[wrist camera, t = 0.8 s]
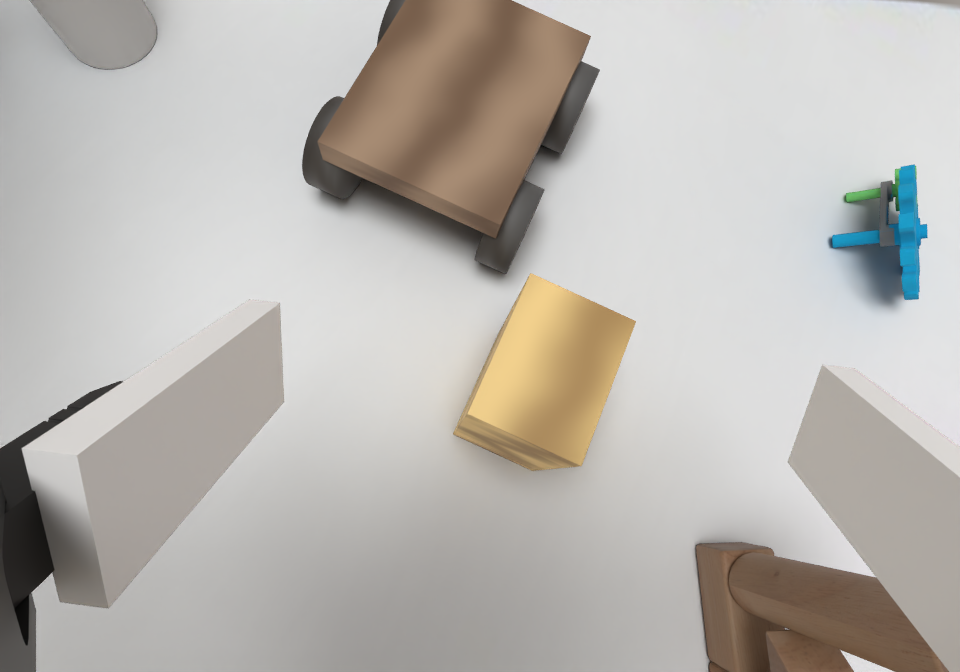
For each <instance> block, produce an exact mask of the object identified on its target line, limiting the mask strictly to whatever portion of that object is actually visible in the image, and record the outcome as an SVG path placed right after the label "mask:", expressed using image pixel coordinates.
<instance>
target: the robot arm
mask: <svg viewBox="0 0 960 672" xmlns="http://www.w3.org/2000/svg"><path fill="white" fill-rule="evenodd" d="M283 403H284V389H283V365H282V342H281V318H280V303H277V302H268V301H259V300H250V299H249V300H248V301H246V302H245V303H243V304H242V305H240V306H238V307H237V308H235V309H234V310H232V311H231V312H229V313H228V314H226V315H225V316H223V317H222V318H220V319H219V320H217V321H216V322H214V323H212V324H211V325H209V326H208V327H206V328H205V329H203V330H202V331H200V332H199V333H197V334H196V335H194V336H193V337H191V338H190V339H188V340H187V341H185V342H183V343H182V344H180V345H179V346H177V347H176V348H174V349H173V350H171V351H170V352H168V353H167V354H165V355H164V356H162V357H161V358H159V359H157V360H156V361H154V362H153V363H151V364H150V365H148V366H147V367H145V368H144V369H142V370H141V371H139V372H138V373H136V374H135V375H133V376H132V377H130V378H128V379H127V380H125V381H124V382H122V381H119V382H116V383H113V384H111V385H108V386H105V387H103V388H100V389H97V390H94V391H92V392H89V393H88V394H86V395H85V396H83V397H81V398H80V399H78V400H77V401H75V402H74V403H72V404H70V405H69V406H68V408H67V409H62V410H61V411H59V412H58V413H56V414H54V415H53V416H51V417H50V418H49V420H48V422H47V421H43V422H42V423H40V424H39V425H37V426H35V427H34V428H32V429H31V430H29V431H27V432H26V433H24V434H23V435H21V436H19V437H18V438H16V439H15V440H13V441H11V442H10V443H8V444H7V445H5V446H3V447H2V448H0V672H36V608H35V605H34V601H33V597H32V594H31V592H32V591H33V590H34V589H35V588H36V587H37V586H39V585H40V584H41V583H42V582H43V581H44V580H45V579H46V578H47V577H48V576H49V575H50V574H51V573H52V572H53V576H54V580H55V584H56V588H57V592H58V596H59V600H60V602H64V603H71V604H78V605H86V606H93V607H101V608H108V609H109V608H110V606H111V605H112V604H113V603H114V602H115V600H116V599H117V598H118V597H119V596H120V595H121V593H122V592H123V591H124V590H125V589H126V587H127V586H128V585H129V584H130V583H131V582H132V580H133V579H134V578H135V577H136V576H137V575H138V573H139V572H140V571H141V570H142V569H143V567H144V566H145V565H146V564H147V563H148V562H149V560H150V559H151V558H152V557H153V556H154V555H155V553H156V552H157V551H158V550H159V549H160V547H161V546H162V545H163V544H164V543H165V542H166V540H167V539H168V538H169V537H170V536H171V534H172V533H173V532H174V531H175V530H176V529H177V527H178V526H179V525H180V524H181V523H182V522H183V520H184V519H185V518H186V517H187V516H188V514H189V513H190V512H191V511H192V510H193V509H194V507H195V506H196V505H197V504H198V503H199V501H200V500H201V499H202V498H203V497H204V496H205V494H206V493H207V492H208V491H209V490H210V489H211V487H212V486H213V485H214V484H215V483H216V481H217V480H218V479H219V478H220V477H221V476H222V474H223V473H224V472H225V471H226V470H227V469H228V467H229V466H230V465H231V464H232V463H233V461H234V460H235V459H236V458H237V457H238V456H239V454H240V453H241V452H242V451H243V450H244V448H245V447H246V446H247V445H248V444H249V443H250V441H251V440H252V439H253V438H254V437H255V436H256V434H257V433H258V432H259V431H260V430H261V428H262V427H263V426H264V425H265V424H266V423H267V421H268V420H269V419H270V418H271V417H272V416H273V414H274V413H275V412H276V411H277V410H278V408H279V407H280V406H281V405H282V404H283ZM788 464H789V465H790V466H791V467H792V469H793V470H794V471H795V473H796V474H797V475H798V476H799V478H800V479H801V480H802V482H803V483H804V484H805V486H806V487H807V488H808V489H809V491H810V492H811V493H812V495H813V496H814V497H815V498H816V500H817V501H818V502H819V504H820V505H821V506H822V508H823V509H824V510H825V511H826V513H827V514H828V515H829V517H830V518H831V519H832V521H833V522H834V523H835V524H836V526H837V527H838V528H839V530H840V531H841V532H842V533H843V535H844V536H845V537H846V539H847V540H848V541H849V543H850V544H851V545H852V546H853V548H854V549H855V550H856V552H857V553H858V554H859V555H860V557H861V558H862V559H863V561H864V562H865V563H866V565H867V566H868V567H869V568H870V570H871V571H872V572H873V574H874V575H875V576H876V578H877V579H878V580H879V581H880V583H881V584H882V585H883V587H884V588H885V589H886V590H887V592H888V593H889V594H890V596H891V597H892V598H893V600H894V601H895V602H896V603H897V605H898V606H899V607H900V609H901V610H902V611H903V613H904V614H905V615H906V616H907V618H908V619H909V620H910V622H911V623H912V624H913V625H914V627H915V628H916V629H917V631H918V632H919V633H920V635H921V636H922V637H923V638H924V640H925V641H926V642H927V644H928V645H929V646H930V647H931V649H932V650H933V651H934V653H935V654H936V655H937V657H938V658H939V659H940V660H941V662H942V663H943V664H944V666H945V667H946V668H947V670H948V671H949V672H960V447H959V446H958V445H957V444H955V443H954V442H953V441H951V440H950V439H949V438H947V437H946V436H945V435H943V434H942V433H941V432H939V431H938V430H937V429H935V428H934V427H933V426H931V425H930V424H929V423H927V422H926V421H925V420H923V419H922V418H921V417H919V416H918V415H917V414H915V413H914V412H913V411H911V410H910V409H909V408H907V407H906V406H905V405H903V404H902V403H901V402H899V401H898V400H897V399H895V398H894V397H893V396H891V395H890V394H889V393H887V392H886V391H885V390H883V389H882V388H881V387H879V386H878V385H877V384H875V383H874V382H873V381H871V380H870V379H869V378H867V377H866V376H864V375H863V374H862V373H860V372H859V371H858V370H856V369H855V368H847V367H838V366H829V365H822V367H821V370H820V373H819V375H818V378H817V381H816V384H815V387H814V390H813V392H812V395H811V398H810V401H809V404H808V406H807V409H806V412H805V415H804V418H803V421H802V423H801V426H800V429H799V432H798V435H797V437H796V440H795V443H794V446H793V449H792V451H791V454H790V457H789V460H788Z"/></svg>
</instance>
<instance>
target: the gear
mask: <svg viewBox="0 0 960 672" xmlns="http://www.w3.org/2000/svg"><path fill="white" fill-rule="evenodd" d="M879 197H880V226H879V230H873V231H864V232H856V233H847V234H839V235H833V236H832V244H833V248H836V247H846V246H855V245H865V244H874V243H880V246H881V247H884V246H894V245H899V246H900V247H901V248H900V266H903V273H902V289H903V291H904V299H905V300H913V299H919V293H918V292H919V274H920V265H919V250H918V249H919V246H920V245H921V239H922V238H927V224H924V225H920V218H918V204H917V183H916V166H915V165H909V166H903V167H901V168H900V169H895V184H893V182H892V181H886V182H881V188H878V189H871V190H865V191H858V192H852V193H846V201H847V202H852V201H859V200H866V199H873V198H879ZM893 197H896V199H895V204H896V211H900V214H899V223H897V224H889V225H888V212H889V202H891V201H893Z"/></svg>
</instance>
